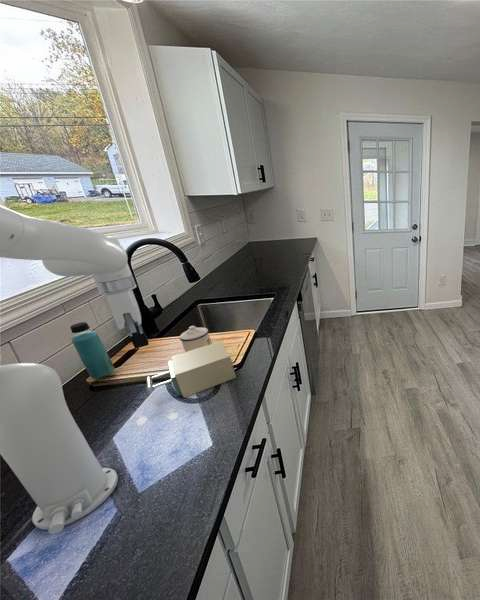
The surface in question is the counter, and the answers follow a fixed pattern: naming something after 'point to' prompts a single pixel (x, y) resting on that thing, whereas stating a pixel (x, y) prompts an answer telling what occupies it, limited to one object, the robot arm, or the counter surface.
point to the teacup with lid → (195, 338)
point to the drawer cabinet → (202, 368)
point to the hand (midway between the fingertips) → (141, 345)
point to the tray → (173, 380)
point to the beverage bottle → (91, 351)
